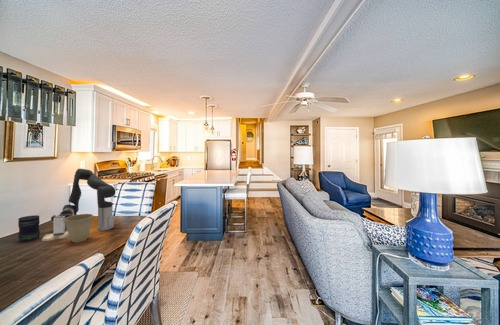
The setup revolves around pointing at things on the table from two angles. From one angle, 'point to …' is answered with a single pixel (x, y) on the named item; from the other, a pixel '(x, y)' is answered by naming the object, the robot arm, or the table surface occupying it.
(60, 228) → the aluminium block
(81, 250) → the table surface
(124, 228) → the table surface
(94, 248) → the table surface
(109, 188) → the robot arm
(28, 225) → the storage jar
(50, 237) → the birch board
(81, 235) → the plant pot
